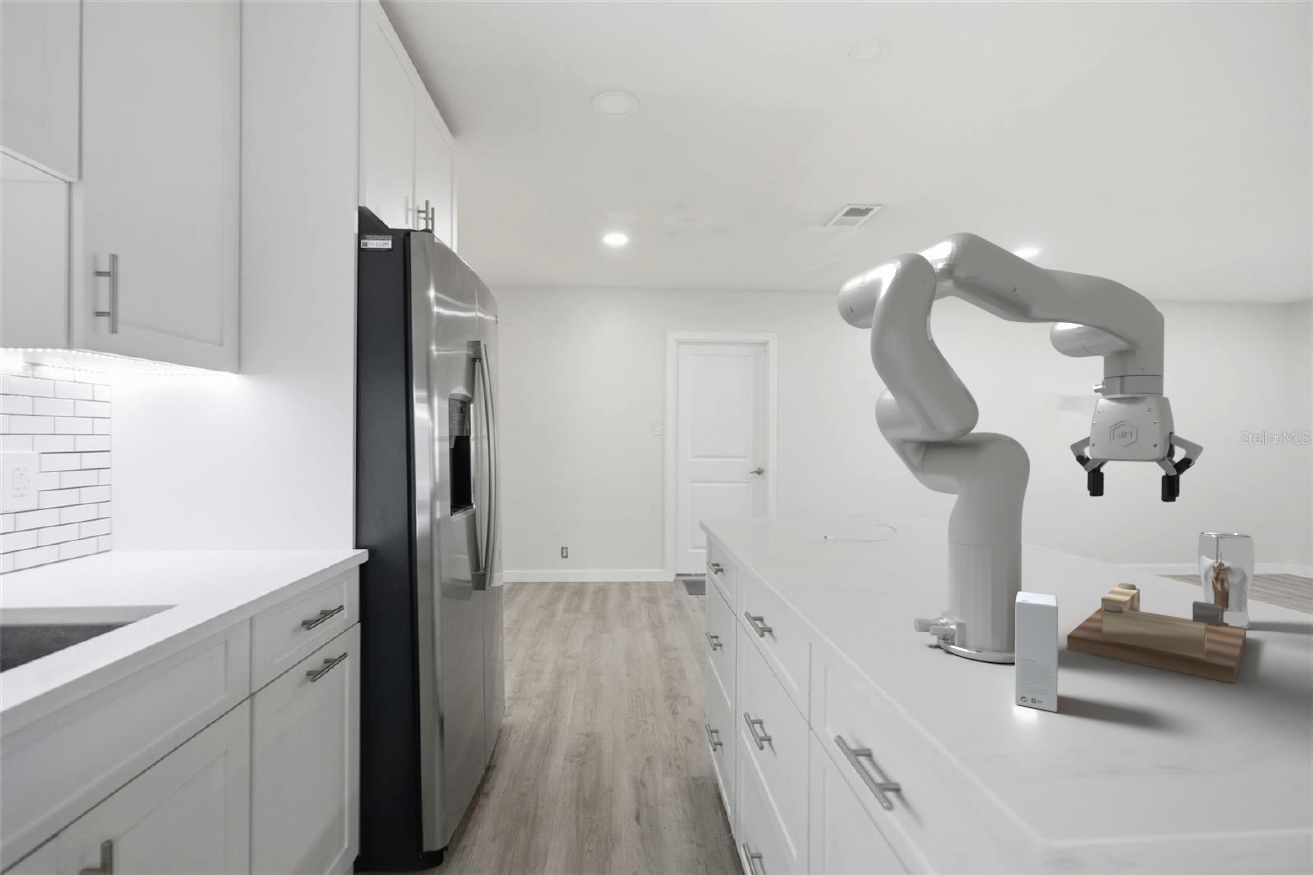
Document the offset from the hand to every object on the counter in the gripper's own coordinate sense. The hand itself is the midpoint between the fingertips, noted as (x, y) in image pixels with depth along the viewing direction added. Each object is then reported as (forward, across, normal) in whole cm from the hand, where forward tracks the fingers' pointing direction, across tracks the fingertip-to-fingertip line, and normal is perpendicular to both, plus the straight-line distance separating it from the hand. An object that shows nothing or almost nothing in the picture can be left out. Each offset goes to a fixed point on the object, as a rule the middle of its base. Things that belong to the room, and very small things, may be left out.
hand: (1131, 498), depth 97 cm
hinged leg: (+19, -1, +1) cm, 19 cm away
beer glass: (+21, +5, +21) cm, 30 cm away
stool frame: (+21, +4, -1) cm, 22 cm away
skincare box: (+22, +6, -38) cm, 44 cm away
